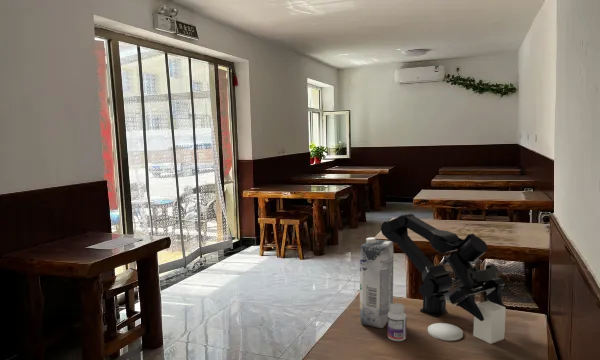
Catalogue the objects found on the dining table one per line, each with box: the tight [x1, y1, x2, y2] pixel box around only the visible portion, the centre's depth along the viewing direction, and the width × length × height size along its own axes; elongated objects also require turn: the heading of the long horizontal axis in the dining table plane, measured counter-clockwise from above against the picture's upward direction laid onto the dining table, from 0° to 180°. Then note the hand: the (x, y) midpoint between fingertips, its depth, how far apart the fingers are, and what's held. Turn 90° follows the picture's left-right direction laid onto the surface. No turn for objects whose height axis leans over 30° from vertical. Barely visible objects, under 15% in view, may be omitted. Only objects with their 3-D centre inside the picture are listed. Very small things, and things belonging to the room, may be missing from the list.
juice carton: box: [359, 236, 394, 329], centre depth 143 cm, size 9×10×27 cm
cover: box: [472, 300, 507, 345], centre depth 133 cm, size 6×6×10 cm
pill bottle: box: [387, 302, 407, 342], centre depth 133 cm, size 5×5×10 cm
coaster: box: [427, 322, 464, 342], centre depth 136 cm, size 10×10×1 cm
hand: (493, 316), depth 131 cm, fingers open, 9 cm apart
